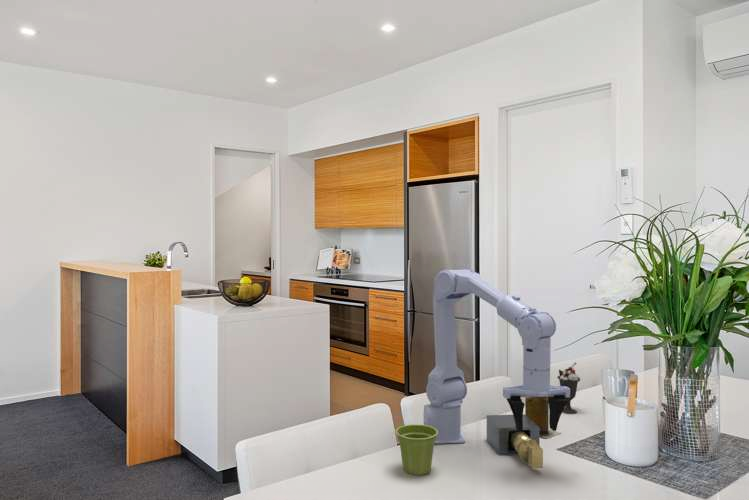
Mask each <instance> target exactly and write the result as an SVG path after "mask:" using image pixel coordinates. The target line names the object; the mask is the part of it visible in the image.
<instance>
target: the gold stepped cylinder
mask: <svg viewBox="0 0 749 500" xmlns="http://www.w3.org/2000/svg"><path fill="white" fill-rule="evenodd" d="M508 442H509V443H510V445H511V446H512V447H513V448H514V449H515V450H516V451H517V452H518V454H517V455H518V457H519V458H520V459H521V460H522V461H523V462H525V463H527V464H528V465H529V466H530V467H531V469H541V468H542V469H543V467H544V449H543V448H542V447H541V445H539V444H538V443H537V442H536V441H535V440H533V439H531V438H530V437H528V436H527V435H526V434H525V433H524V432H523V431H522V432H519V431H518V430H512V431H510V433H509V434H508Z"/></svg>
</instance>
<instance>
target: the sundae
mask: <svg viewBox="0 0 749 500" xmlns="http://www.w3.org/2000/svg"><path fill="white" fill-rule="evenodd" d="M575 365H577V363H576V362H574V363H573V364H571V366H569V367H568V368H565V369H564V370H561V369H558V374H559V375H557V377H556V378H557V379H558V380H559V385H560V386H566V387H568V388H570V397H565V398H566V399H567V405H566V407H565V408H564V410H563V412H562V414H566V415H567V414H569V415H575V414H577V413H578V411H577V410H575V409H574V408H572V407H571V406H572V405H571V401H572V400H573V399H574V398H575V397H576V396H577V395H576V394H577V391H578V390H577V389H578V383H579V382H580V381H581V378H580V376H579V377H578V375H577V373H576V370H575V369H574V366H575Z"/></svg>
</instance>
